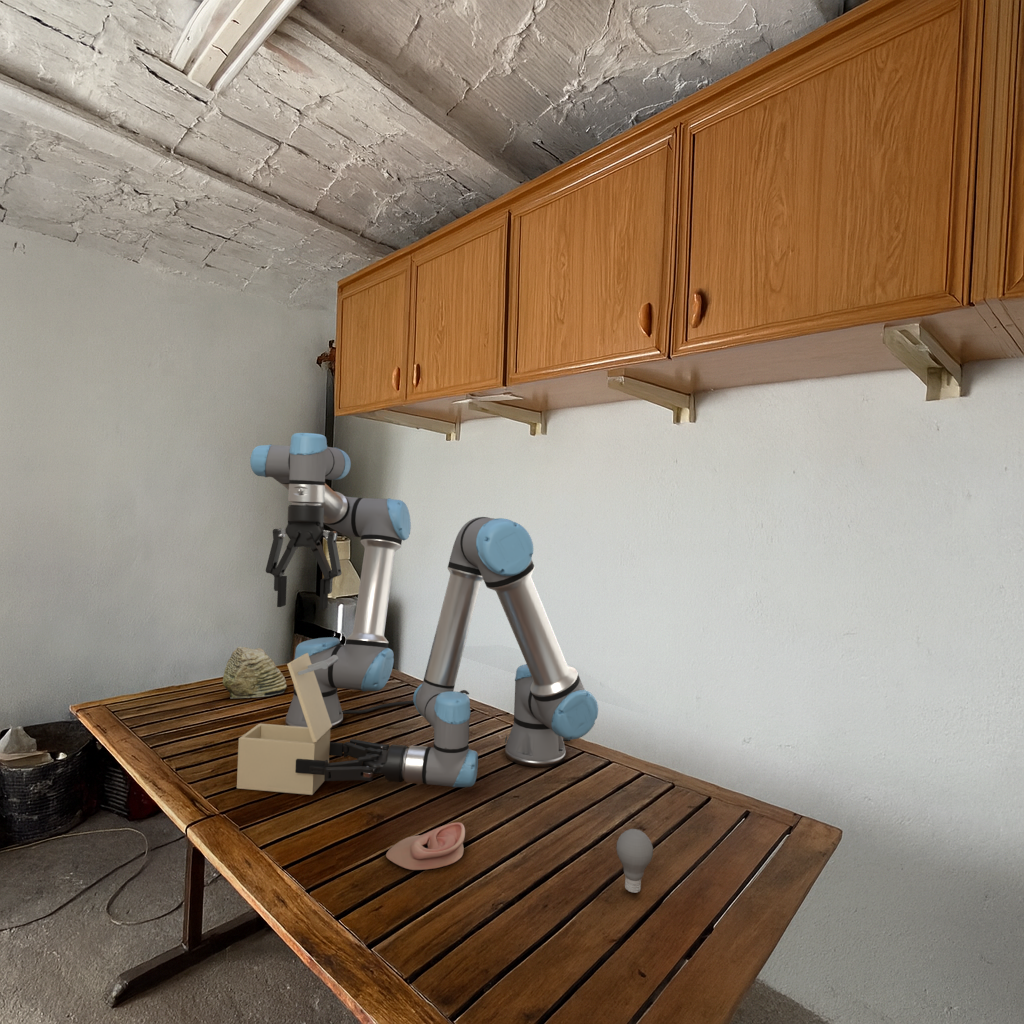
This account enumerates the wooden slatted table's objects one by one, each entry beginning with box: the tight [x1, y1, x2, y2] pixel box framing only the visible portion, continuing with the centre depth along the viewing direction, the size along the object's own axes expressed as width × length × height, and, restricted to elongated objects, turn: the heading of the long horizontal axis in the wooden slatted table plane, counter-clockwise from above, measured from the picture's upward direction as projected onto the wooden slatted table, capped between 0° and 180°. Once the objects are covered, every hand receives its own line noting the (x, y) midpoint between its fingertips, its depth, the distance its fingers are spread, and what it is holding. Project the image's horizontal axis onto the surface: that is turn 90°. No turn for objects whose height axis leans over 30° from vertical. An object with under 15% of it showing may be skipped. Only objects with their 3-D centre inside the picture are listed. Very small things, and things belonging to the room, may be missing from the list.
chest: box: [236, 723, 331, 796], centre depth 140 cm, size 17×9×11 cm, turn 85°
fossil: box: [222, 646, 288, 699], centre depth 198 cm, size 9×18×15 cm, turn 132°
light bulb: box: [615, 828, 654, 894], centre depth 106 cm, size 6×6×10 cm
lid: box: [286, 653, 338, 743], centre depth 139 cm, size 18×9×8 cm
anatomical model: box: [385, 821, 466, 871], centre depth 114 cm, size 13×4×12 cm
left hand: (302, 607), depth 139 cm, fingers open, 9 cm apart
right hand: (305, 756), depth 139 cm, fingers closed on chest, 9 cm apart
